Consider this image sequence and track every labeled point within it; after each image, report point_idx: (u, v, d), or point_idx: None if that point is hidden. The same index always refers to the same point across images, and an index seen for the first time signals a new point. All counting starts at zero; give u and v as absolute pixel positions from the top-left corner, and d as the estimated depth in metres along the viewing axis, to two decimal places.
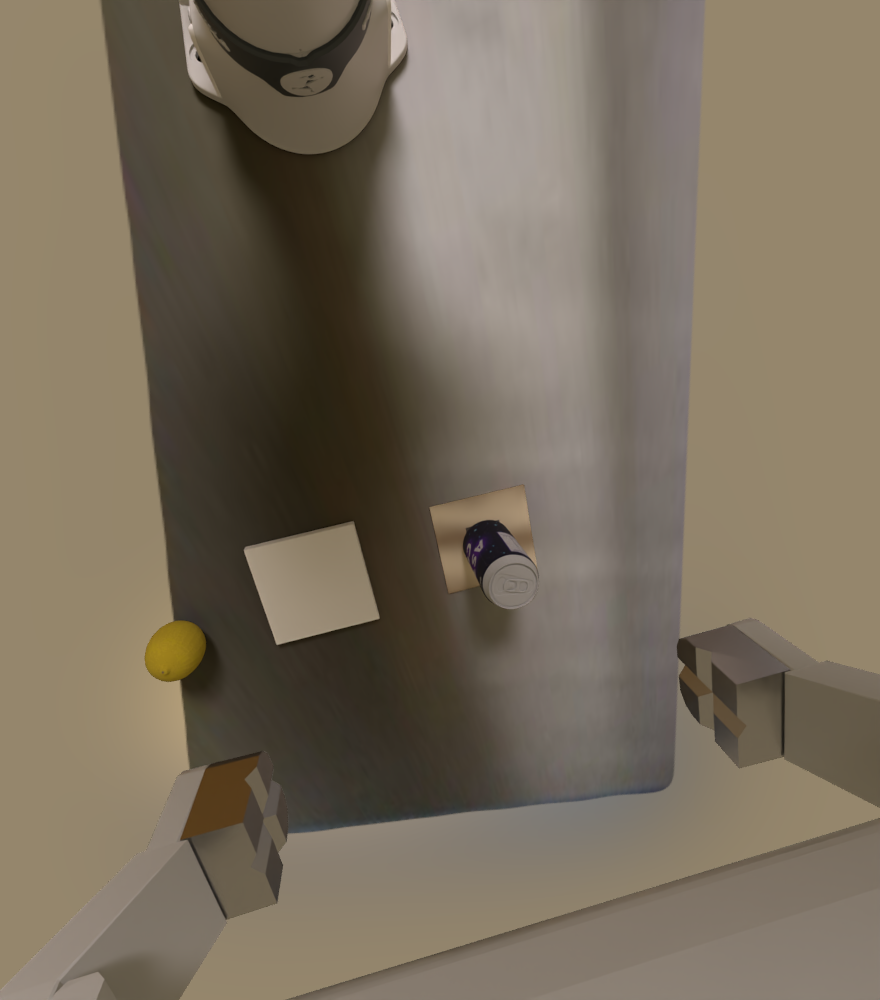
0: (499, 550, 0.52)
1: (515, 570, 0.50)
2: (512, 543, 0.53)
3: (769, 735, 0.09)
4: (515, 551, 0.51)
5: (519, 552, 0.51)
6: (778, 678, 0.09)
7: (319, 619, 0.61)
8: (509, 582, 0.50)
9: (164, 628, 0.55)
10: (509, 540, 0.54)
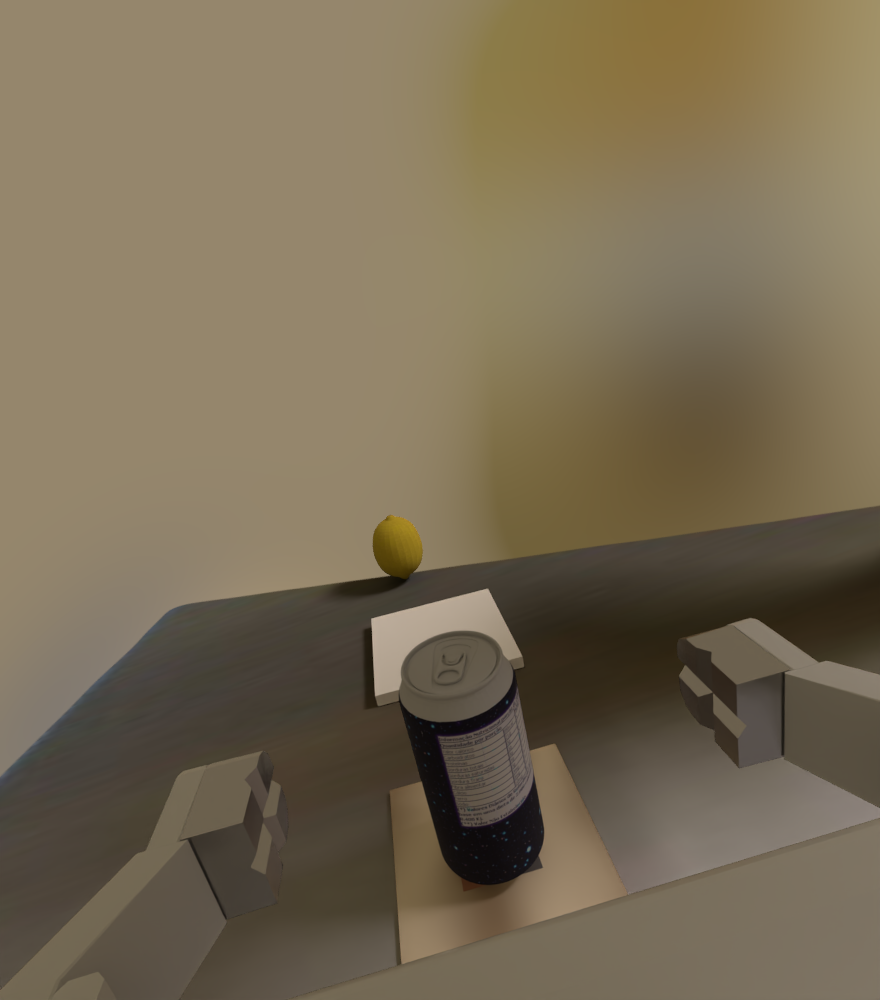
0: None
1: (484, 660, 0.25)
2: (522, 735, 0.25)
3: (769, 735, 0.09)
4: (516, 691, 0.25)
5: (514, 696, 0.24)
6: (779, 678, 0.09)
7: (393, 644, 0.48)
8: (457, 657, 0.25)
9: None
10: (525, 747, 0.26)
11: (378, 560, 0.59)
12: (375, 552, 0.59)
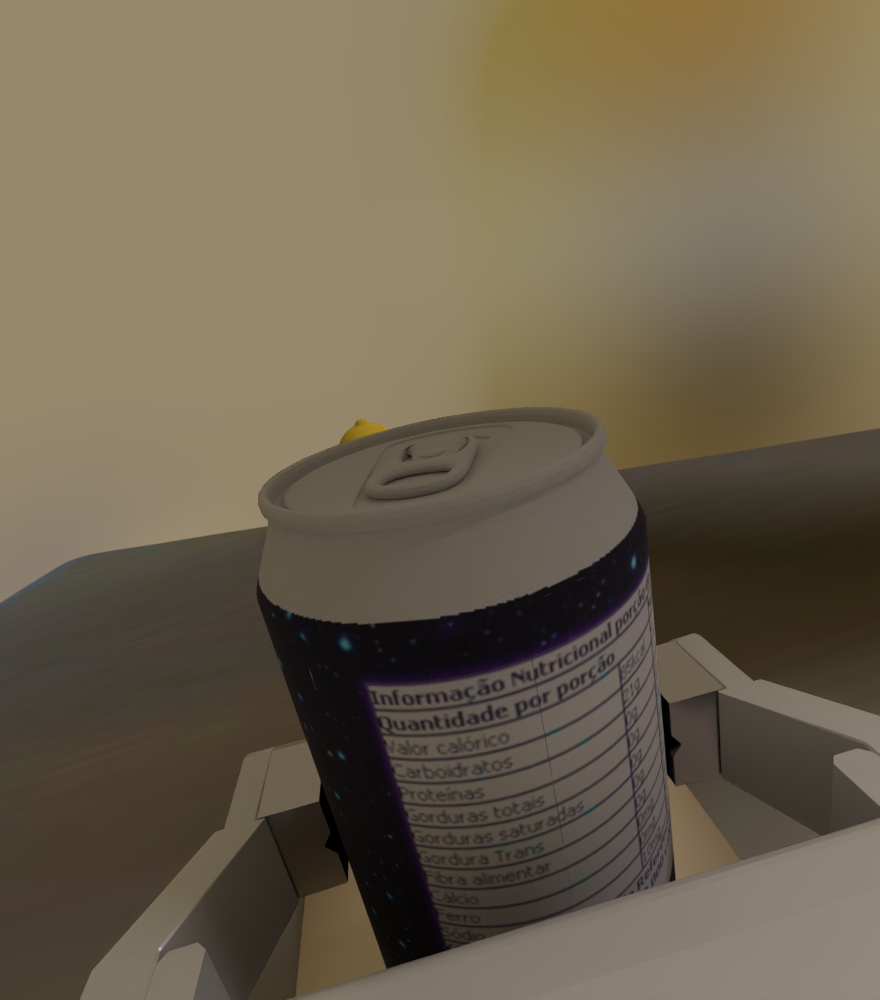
0: None
1: (538, 442, 0.07)
2: (659, 697, 0.08)
3: (705, 753, 0.09)
4: None
5: (647, 555, 0.07)
6: (713, 697, 0.09)
7: None
8: (451, 453, 0.08)
9: None
10: (662, 736, 0.08)
11: None
12: None
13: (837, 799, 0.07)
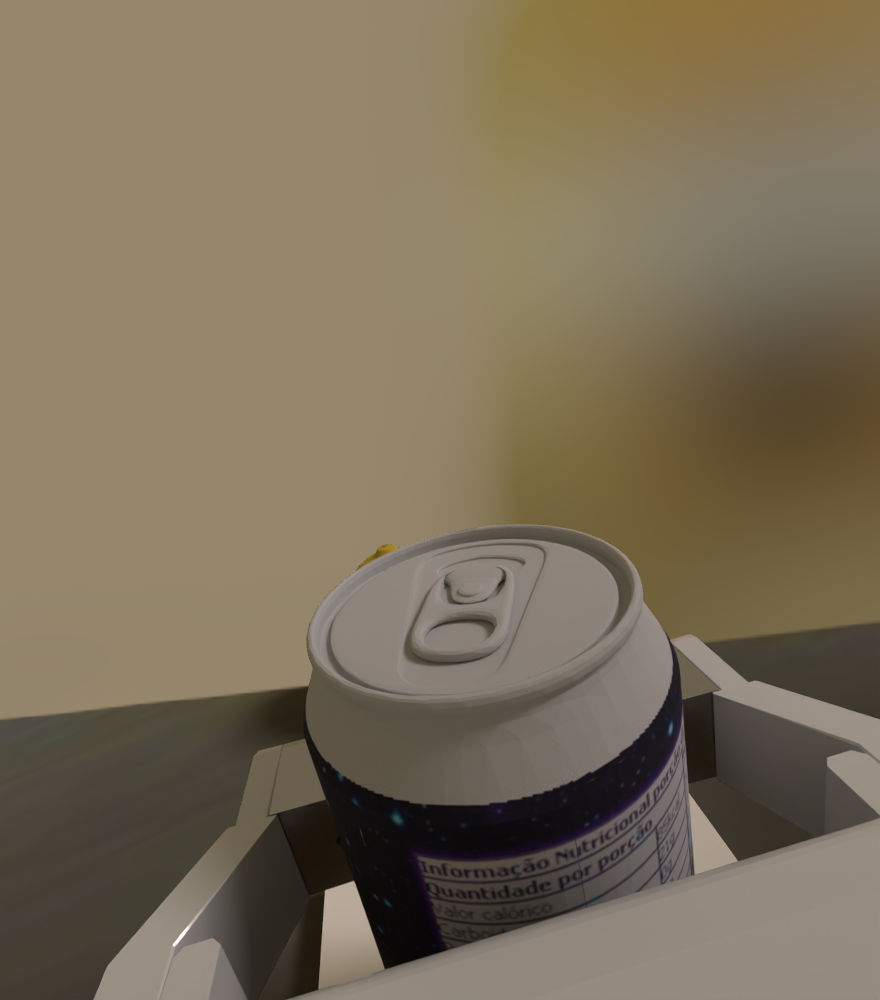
0: None
1: (574, 588, 0.08)
2: (690, 830, 0.08)
3: (700, 755, 0.09)
4: None
5: (681, 706, 0.07)
6: (708, 697, 0.09)
7: None
8: (488, 586, 0.08)
9: None
10: (692, 862, 0.08)
11: None
12: None
13: (830, 801, 0.07)
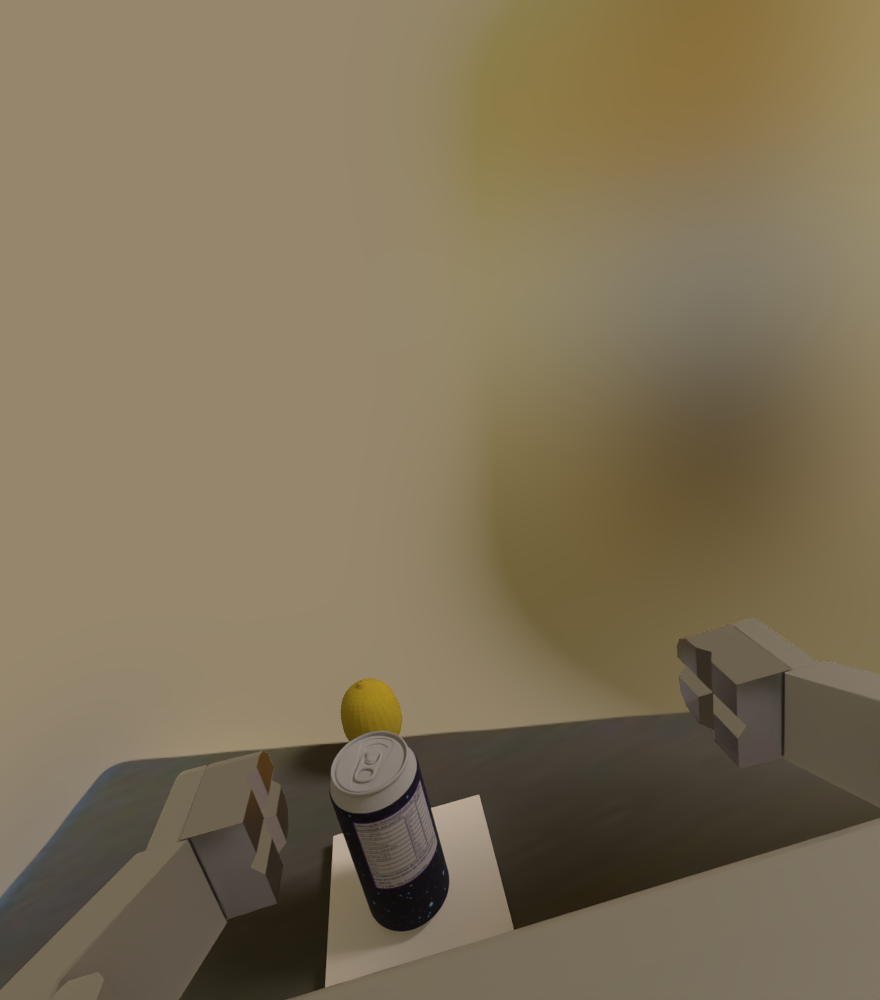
0: None
1: (393, 761, 0.33)
2: (424, 818, 0.33)
3: (769, 735, 0.09)
4: (418, 785, 0.32)
5: (415, 790, 0.32)
6: (778, 678, 0.09)
7: (355, 898, 0.37)
8: (375, 757, 0.33)
9: (399, 706, 0.51)
10: (427, 826, 0.33)
11: (347, 736, 0.49)
12: (343, 726, 0.49)
13: None
